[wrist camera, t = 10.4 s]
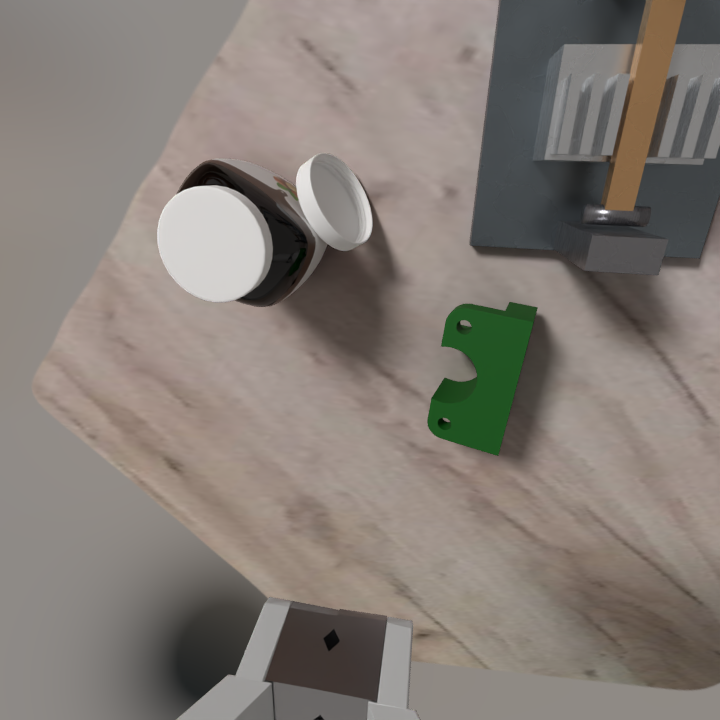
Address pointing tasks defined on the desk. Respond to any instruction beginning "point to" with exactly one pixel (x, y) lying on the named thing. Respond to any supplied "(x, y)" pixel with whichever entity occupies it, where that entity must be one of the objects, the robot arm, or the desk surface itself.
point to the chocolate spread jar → (259, 227)
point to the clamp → (482, 374)
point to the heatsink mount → (595, 133)
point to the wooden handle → (638, 118)
